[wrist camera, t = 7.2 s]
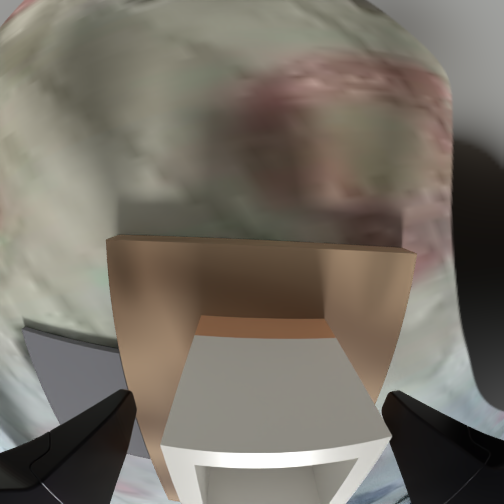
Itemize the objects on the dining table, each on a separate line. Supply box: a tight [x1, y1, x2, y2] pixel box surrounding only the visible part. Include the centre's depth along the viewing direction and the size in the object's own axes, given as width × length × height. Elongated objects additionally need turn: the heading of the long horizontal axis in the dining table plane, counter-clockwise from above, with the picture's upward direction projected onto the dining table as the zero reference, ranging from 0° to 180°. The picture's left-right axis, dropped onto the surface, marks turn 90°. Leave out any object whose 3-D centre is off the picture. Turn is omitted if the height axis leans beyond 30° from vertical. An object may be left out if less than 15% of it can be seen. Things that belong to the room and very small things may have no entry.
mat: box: [22, 327, 150, 459], centre depth 12 cm, size 9×7×1 cm
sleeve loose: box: [160, 315, 392, 504], centre depth 7 cm, size 5×5×6 cm
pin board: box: [106, 235, 417, 502], centre depth 10 cm, size 20×12×5 cm, turn 177°
